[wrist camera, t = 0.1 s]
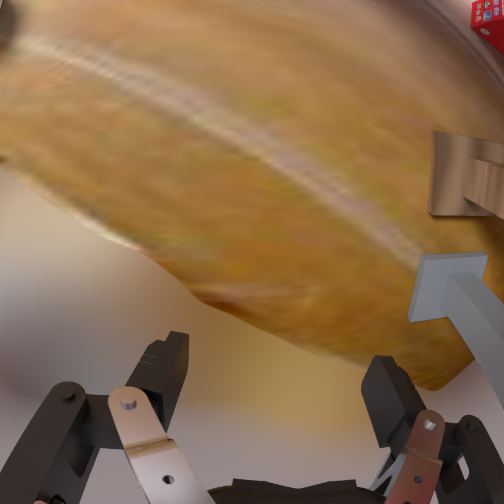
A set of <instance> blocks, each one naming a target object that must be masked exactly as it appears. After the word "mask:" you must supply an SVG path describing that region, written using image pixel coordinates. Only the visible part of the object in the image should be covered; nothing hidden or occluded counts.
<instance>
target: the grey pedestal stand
mask: <svg viewBox="0 0 504 504" xmlns="http://www.w3.org/2000/svg"><path fill="white" fill-rule="evenodd" d="M487 259H488V255H487V254H486V253H484V252H483V251H479V252H464V253H448V254H432V255H421V257H420V262H419V267H418V272H417V277H416V282H415V286H414V291H413V295H412V299H411V303H410V307H409V311H408V315H407V317H408V319H409V321H410V322H417V321H424V320H430V319H437V318H443V317H449V319H450V320H451V322H452V323H453V325H454V326H455V328H456V329H457V331H458V332H459V334H460V335H461V337H462V338H463V340H464V341H465V343H466V344H467V346H468V347H469V349H470V351H471V352H472V354H473V355H474V357H475V359H476V360H477V362H478V364H479V365H480V367H481V369H482V370H483V372H484V374H485V375H486V377H487V379H488V381H489V383H490V384H491V386H492V388H493V390H494V392H495V394H496V395H497V397H498V399H499V401H500V403H501V405H502V407H503V409H504V304H503V303H502V302H501V301H500V300H499V299H498V297H497V296H496V295H495V294H494V293H493V292H492V291H491V290H490V289H489V288H488V287H487V286H486V285H485V284H484V283H483V282H482V281H481V280H482V277H483V273H484V270H485V266H486V263H487Z"/></svg>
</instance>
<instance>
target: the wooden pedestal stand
mask: <svg viewBox="0 0 504 504" xmlns="http://www.w3.org/2000/svg"><path fill="white" fill-rule="evenodd" d="M503 155H504V144H500V143H495V142H491V141H487V140H482V139H478V138H473V137H468V136H463V135H457V134H451V133H445V132H439V131H432V154H431V176H430V190H429V201H428V210H427V211H428V212H429V213H431V214H432V215H465V216H499V217H500V218H502V219H503V220H504V165H503Z"/></svg>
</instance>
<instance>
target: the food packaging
mask: <svg viewBox="0 0 504 504" xmlns="http://www.w3.org/2000/svg"><path fill="white" fill-rule="evenodd" d="M471 28H472V29H473V30H474V31H475V32H477V33H478V34H479V35H480V36H482V37H483V38H484V39H485V40H487V41H488V42H489V43H490V44H491V45H492V46H493V47H495V48H496V49H497V50H498V51H499V52H500V53H501V54H502V55H503V56H504V0H478V1H475V2H473V3H472V17H471Z"/></svg>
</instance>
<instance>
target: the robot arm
mask: <svg viewBox="0 0 504 504" xmlns="http://www.w3.org/2000/svg"><path fill="white" fill-rule="evenodd" d="M188 361H189V334H185V333H180V332H175V331H170V333H169V335H168V337H167V339H166V341H161V340H156V341H155V342H153V343H152V344H150V345H149V346H148V347H147V349H146V350H145V352H144V355H143V356H142V357H141V359H140V362H138V364H137V366H136V368H135V369H134V371H133V373H132V375H131V376H130V378H129V380H128V382H127V383H126V385H125V386H124V387H120V388H117V389H115V390H114V391H112V393H111V394H110V395H91V394H86V393H85V390H84V389H83V387H82V386H80V385H79V384H77V383H74V382H62V383H59V384H57V385H55V386H54V387H53V388H52V389H51V391H50V392H49V394H48V395H47V397H46V398H45V400H44V401H43V403H42V404H41V406H40V407H39V409H38V410H37V412H36V413H35V415H34V416H33V418H32V419H31V421H30V423H29V424H28V426H27V427H26V429H25V431H24V432H23V434H22V435H21V437H20V439H19V441H18V442H17V444H16V446H15V447H14V449H13V451H12V452H11V454H10V456H9V458H8V460H7V461H6V463H5V465H4V467H3V468H2V470H1V472H0V504H79V503H80V500H81V497H82V494H83V491H84V489H85V486H86V483H87V481H88V478H89V475H90V473H91V470H92V468H93V465H94V462H95V460H96V457H97V455H98V452H99V450H100V448H108V449H123V450H124V452H125V455H126V457H127V459H128V462H129V464H130V466H131V469H132V471H133V473H134V475H135V477H136V479H137V482H138V484H139V485H140V488H141V490H142V492H143V494H144V496H145V498H146V500H147V502H148V504H430V501H431V499H432V495H433V493H434V490H435V492H436V495H437V499H438V502H439V504H504V464H503V462H502V460H501V458H500V456H499V454H498V452H497V450H496V448H495V446H494V444H493V442H492V440H491V438H490V436H489V434H488V432H487V431H486V429H485V427H484V425H483V423H482V422H481V421H480V420H479V419H478V418H477V417H475V416H472V415H465V416H463V417H462V418H461V420H460V421H459V422H458V423H448V422H445V421H444V419H443V417H442V416H441V415H440V414H439V413H437V412H435V411H433V410H427V408H426V406H425V405H424V403H423V401H422V399H421V397H420V395H419V394H418V392H417V390H416V389H415V386H414V384H413V383H412V381H411V379H410V377H409V375H408V374H407V373H406V372H405V371H404V370H403V369H402V368H401V367H400V366H399V367H398V366H397V364H396V362H395V360H394V359H393V357H392V356H380V355H376V356H374V358H373V359H372V362H371V364H370V366H369V368H368V370H367V373H366V375H365V377H364V379H363V381H362V385H361V393H362V396H363V399H364V402H365V405H366V408H367V410H368V414H369V417H370V419H371V423H372V426H373V429H374V432H375V435H376V438H377V441H378V444H379V447H380V448H384V447H390V449H391V451H390V452H389V453H388V455H387V457H386V459H385V460H384V462H383V465H382V466H381V468H380V470H379V472H378V474H377V476H376V478H375V480H374V481H373V483H372V485H371V486H370V487H369V488H368V489H366V488H361V487H357V485H356V480H355V479H354V480H343V481H329V482H325V483H321V484H317V485H313V486H309V487H305V488H300V489H296V488H291V487H286V486H282V485H278V484H274V483H270V482H266V481H254V480H243V479H233V482H232V485H231V486H223V487H217V488H213V489H210V490H207V491H206V489H205V488H204V486H203V485H202V483H201V482H200V480H199V479H198V478H197V476H196V474H195V473H194V471H193V470H192V468H191V467H190V465H189V464H188V462H187V460H186V459H185V457H184V456H183V454H182V452H181V451H180V449H179V447H178V446H177V444H176V443H175V441H174V440H173V439H169V438H168V436H167V435H166V433H167V430H168V427H169V424H170V421H171V418H172V415H173V412H174V409H175V407H176V403H177V401H178V398H179V395H180V392H181V389H182V386H183V383H184V381H185V377H186V374H187V370H188ZM463 456H464V458H465V461H466V463H467V466H468V468H469V476H468V478H467V479H466V480H465V479H464V476H463V474H462V471H461V469H460V466H459V463H458V461H459V460H460V459H461V458H462V457H463Z"/></svg>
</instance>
